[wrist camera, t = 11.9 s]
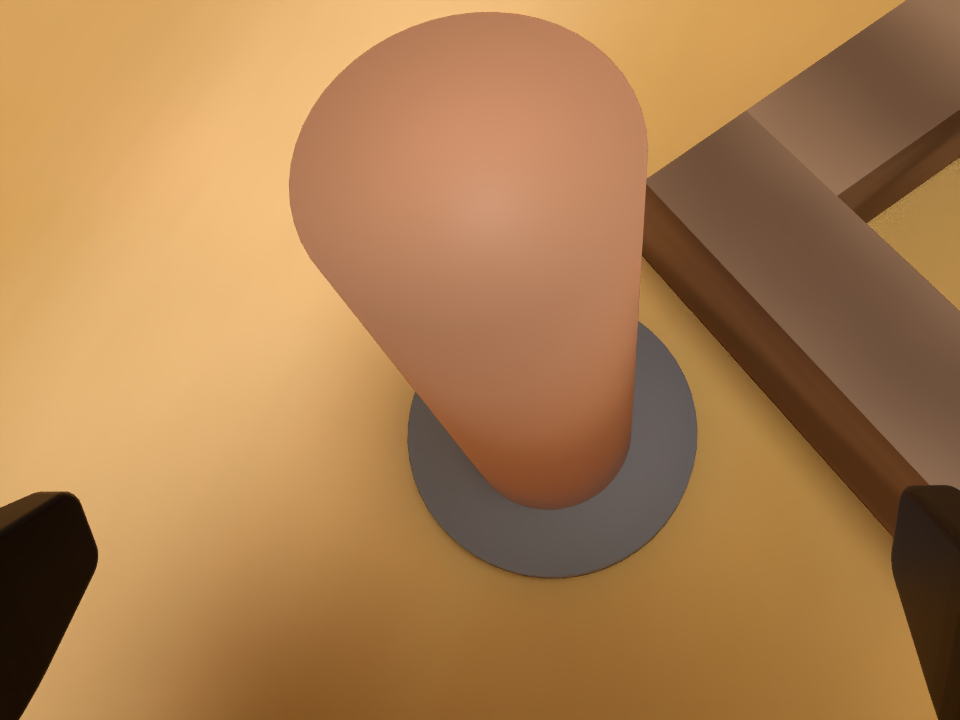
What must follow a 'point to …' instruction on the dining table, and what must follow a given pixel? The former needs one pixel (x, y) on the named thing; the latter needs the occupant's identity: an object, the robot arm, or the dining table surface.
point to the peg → (490, 238)
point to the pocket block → (831, 251)
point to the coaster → (581, 528)
